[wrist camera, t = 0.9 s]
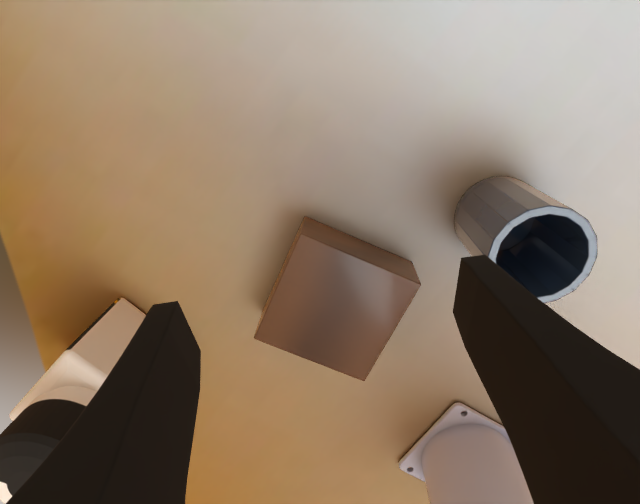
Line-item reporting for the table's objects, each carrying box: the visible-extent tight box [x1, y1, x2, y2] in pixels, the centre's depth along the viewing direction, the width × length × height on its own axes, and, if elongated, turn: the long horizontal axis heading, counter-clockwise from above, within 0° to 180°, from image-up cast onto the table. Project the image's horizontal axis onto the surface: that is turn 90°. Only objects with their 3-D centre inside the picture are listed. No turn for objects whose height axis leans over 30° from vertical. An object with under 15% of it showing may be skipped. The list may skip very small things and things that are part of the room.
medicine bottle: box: [0, 298, 146, 504], centre depth 28 cm, size 7×7×12 cm
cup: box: [454, 176, 597, 303], centre depth 25 cm, size 5×5×7 cm
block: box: [254, 217, 421, 381], centre depth 29 cm, size 8×8×4 cm
